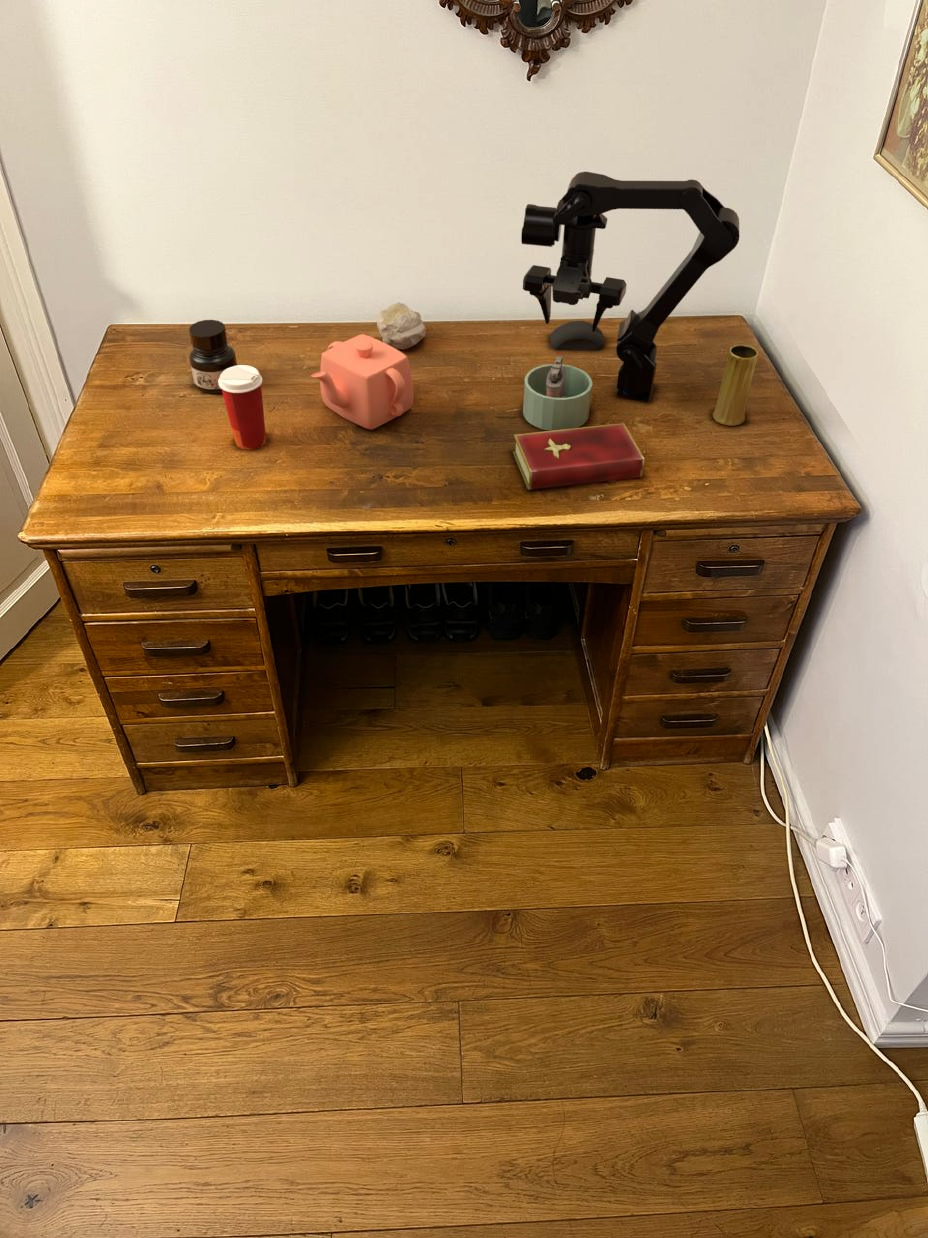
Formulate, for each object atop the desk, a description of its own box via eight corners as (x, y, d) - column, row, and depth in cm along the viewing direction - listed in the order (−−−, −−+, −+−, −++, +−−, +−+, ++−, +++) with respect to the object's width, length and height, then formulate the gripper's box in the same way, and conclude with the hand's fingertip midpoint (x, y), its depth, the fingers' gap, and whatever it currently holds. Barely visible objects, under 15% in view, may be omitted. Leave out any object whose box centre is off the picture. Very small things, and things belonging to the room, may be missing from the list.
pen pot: (595, 402, 194) (599, 370, 189) (579, 436, 185) (582, 404, 180) (533, 390, 197) (535, 358, 192) (514, 423, 188) (516, 391, 183)
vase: (747, 413, 192) (764, 347, 182) (740, 429, 188) (756, 362, 178) (717, 406, 193) (731, 340, 183) (709, 421, 189) (723, 355, 179)
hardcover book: (642, 478, 176) (645, 458, 173) (528, 491, 173) (530, 471, 170) (621, 440, 184) (624, 421, 182) (512, 452, 181) (513, 433, 178)
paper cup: (278, 434, 185) (268, 367, 175) (259, 456, 180) (248, 389, 170) (241, 426, 187) (229, 360, 177) (221, 448, 181) (208, 381, 172)
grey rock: (432, 332, 214) (387, 332, 215) (428, 294, 208) (382, 295, 210) (422, 356, 204) (375, 356, 206) (418, 317, 199) (370, 317, 201)
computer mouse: (604, 350, 208) (606, 332, 206) (551, 349, 208) (552, 332, 206) (601, 335, 213) (603, 318, 210) (549, 334, 213) (551, 317, 210)
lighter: (558, 422, 188) (562, 375, 181) (541, 419, 188) (544, 373, 181) (565, 400, 193) (570, 354, 186) (548, 397, 194) (552, 352, 187)
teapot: (284, 415, 190) (275, 350, 180) (358, 376, 200) (353, 313, 190) (354, 456, 180) (349, 390, 170) (428, 414, 190) (427, 349, 180)
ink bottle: (184, 388, 196) (172, 333, 188) (208, 367, 202) (198, 313, 193) (226, 398, 193) (216, 343, 185) (249, 377, 199) (240, 322, 191)
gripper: (516, 258, 176) (512, 337, 187) (618, 274, 171) (607, 355, 182) (533, 233, 183) (528, 311, 194) (631, 249, 179) (621, 327, 190)
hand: (570, 326), depth 190 cm, fingers open, 9 cm apart
